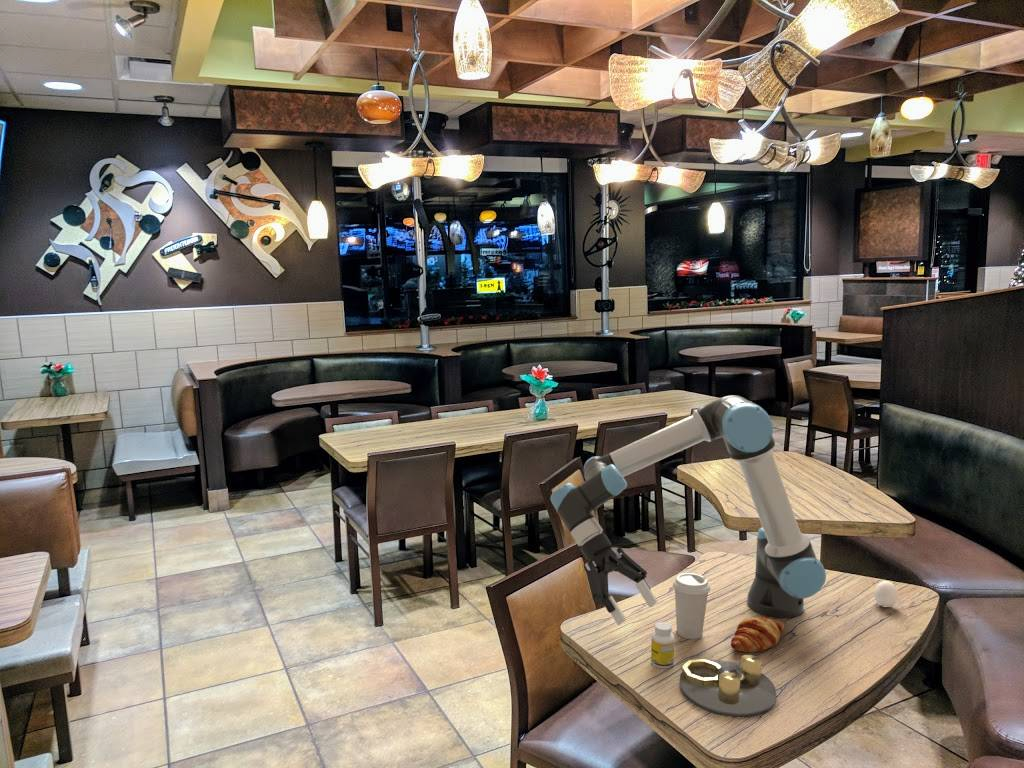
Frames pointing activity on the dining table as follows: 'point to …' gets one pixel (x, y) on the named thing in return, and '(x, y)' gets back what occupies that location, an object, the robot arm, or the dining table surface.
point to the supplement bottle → (662, 646)
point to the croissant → (757, 634)
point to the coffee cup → (690, 604)
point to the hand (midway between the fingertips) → (638, 613)
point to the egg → (886, 594)
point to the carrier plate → (746, 693)
